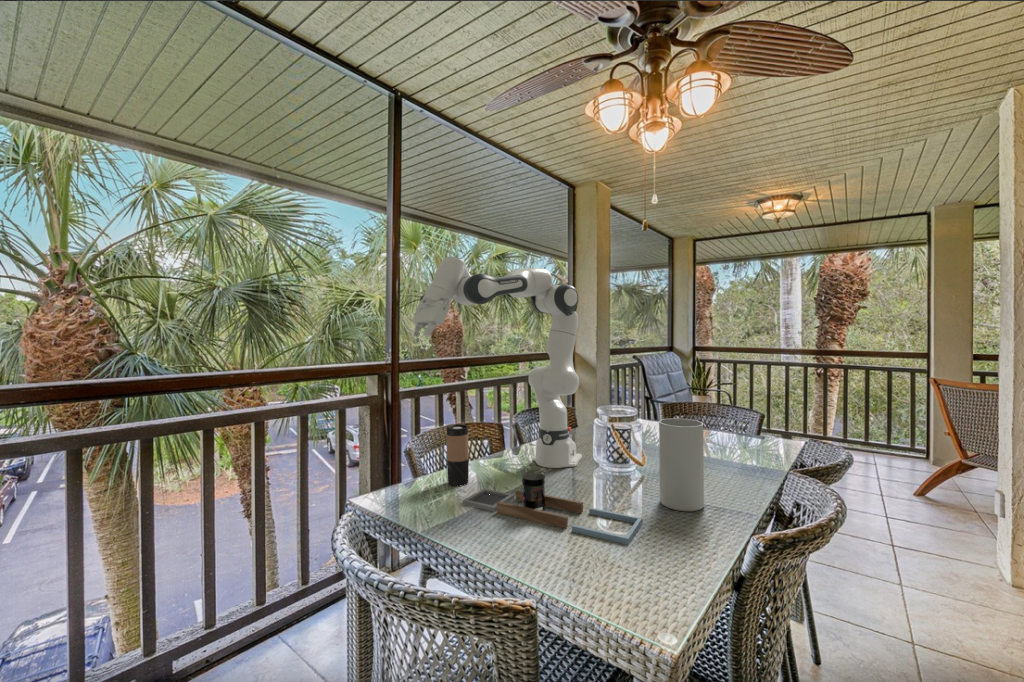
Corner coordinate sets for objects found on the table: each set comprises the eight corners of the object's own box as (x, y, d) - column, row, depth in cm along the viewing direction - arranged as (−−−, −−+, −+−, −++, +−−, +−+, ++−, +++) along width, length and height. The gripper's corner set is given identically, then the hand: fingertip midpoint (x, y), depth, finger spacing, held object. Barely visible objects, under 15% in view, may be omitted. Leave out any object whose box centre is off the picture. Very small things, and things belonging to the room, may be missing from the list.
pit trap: (484, 492, 145) (484, 488, 145) (514, 498, 139) (514, 494, 139) (462, 504, 135) (462, 500, 135) (494, 511, 129) (493, 507, 129)
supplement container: (536, 505, 134) (536, 471, 133) (550, 512, 128) (549, 477, 128) (518, 510, 130) (517, 475, 130) (530, 518, 124) (530, 481, 124)
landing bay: (590, 512, 127) (590, 507, 127) (642, 523, 120) (642, 517, 120) (571, 531, 115) (571, 526, 115) (628, 544, 108) (628, 538, 108)
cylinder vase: (708, 514, 125) (707, 427, 125) (662, 511, 128) (662, 426, 127) (698, 497, 137) (698, 418, 137) (657, 495, 140) (656, 417, 139)
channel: (517, 498, 139) (517, 489, 139) (583, 512, 128) (582, 502, 128) (497, 512, 128) (496, 502, 128) (566, 528, 117) (565, 517, 117)
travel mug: (467, 486, 150) (466, 429, 150) (445, 486, 151) (444, 429, 150) (470, 479, 158) (469, 424, 158) (449, 479, 158) (448, 424, 158)
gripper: (458, 301, 140) (441, 340, 137) (433, 305, 157) (417, 340, 154) (441, 292, 137) (423, 331, 134) (418, 297, 154) (402, 332, 151)
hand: (420, 336), depth 144 cm, fingers open, 8 cm apart
